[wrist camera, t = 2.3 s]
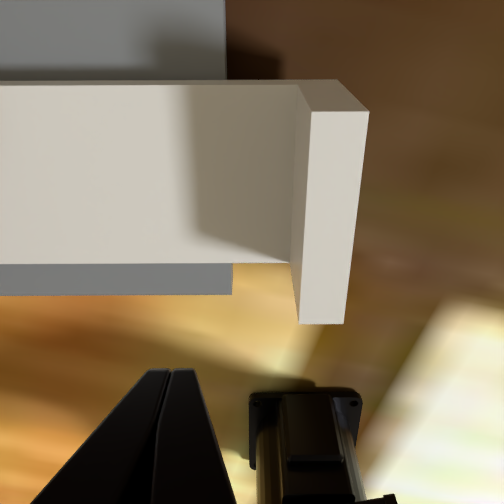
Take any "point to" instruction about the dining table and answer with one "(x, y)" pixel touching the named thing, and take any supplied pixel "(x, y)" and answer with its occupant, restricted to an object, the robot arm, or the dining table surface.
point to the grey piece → (113, 68)
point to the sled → (186, 177)
